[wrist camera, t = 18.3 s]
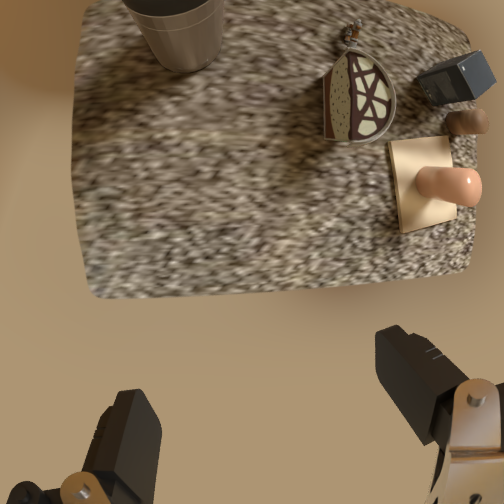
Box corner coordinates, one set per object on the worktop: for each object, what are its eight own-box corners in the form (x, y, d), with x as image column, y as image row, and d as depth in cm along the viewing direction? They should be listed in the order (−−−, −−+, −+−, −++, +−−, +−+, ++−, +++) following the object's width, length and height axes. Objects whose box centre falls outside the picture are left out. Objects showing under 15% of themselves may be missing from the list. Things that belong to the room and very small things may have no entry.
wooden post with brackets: (355, 21, 34) (367, 21, 31) (344, 67, 39) (355, 70, 36) (344, 18, 34) (355, 17, 30) (333, 64, 39) (343, 67, 35)
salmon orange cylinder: (414, 167, 41) (456, 170, 31) (437, 164, 41) (480, 167, 31) (417, 199, 42) (459, 209, 33) (440, 195, 42) (482, 204, 33)
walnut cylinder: (443, 112, 40) (471, 108, 33) (459, 111, 40) (486, 108, 33) (448, 135, 41) (476, 134, 34) (463, 134, 41) (490, 133, 34)
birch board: (387, 141, 40) (390, 141, 39) (444, 135, 41) (448, 135, 40) (399, 232, 44) (403, 233, 43) (453, 217, 45) (456, 218, 44)
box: (432, 107, 39) (476, 100, 29) (414, 77, 38) (456, 63, 28) (456, 90, 39) (498, 82, 29) (440, 61, 37) (480, 48, 27)
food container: (363, 153, 41) (401, 152, 31) (323, 150, 40) (353, 146, 30) (362, 73, 37) (396, 54, 28) (322, 66, 37) (350, 43, 27)
